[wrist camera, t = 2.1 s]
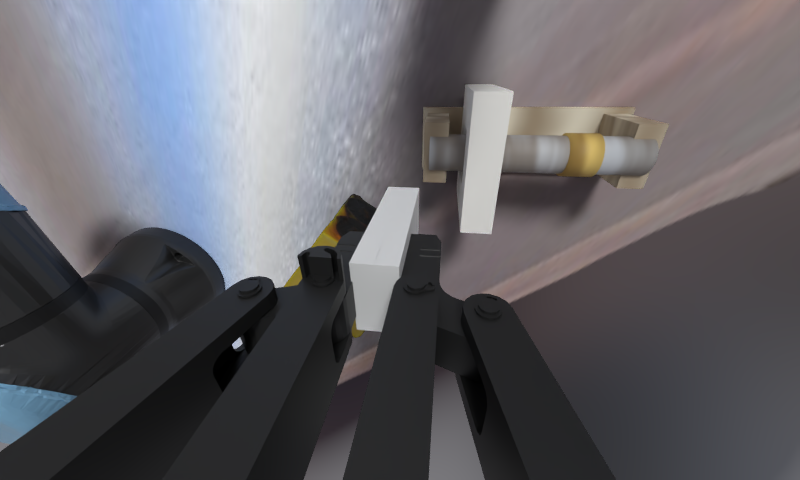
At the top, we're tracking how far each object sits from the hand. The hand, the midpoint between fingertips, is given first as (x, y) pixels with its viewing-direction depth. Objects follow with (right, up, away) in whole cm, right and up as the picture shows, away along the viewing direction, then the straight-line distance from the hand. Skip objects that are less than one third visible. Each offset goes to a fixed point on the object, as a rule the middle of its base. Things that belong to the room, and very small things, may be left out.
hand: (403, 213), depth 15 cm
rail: (+12, +9, +15) cm, 21 cm away
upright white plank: (+7, +9, +16) cm, 19 cm away
